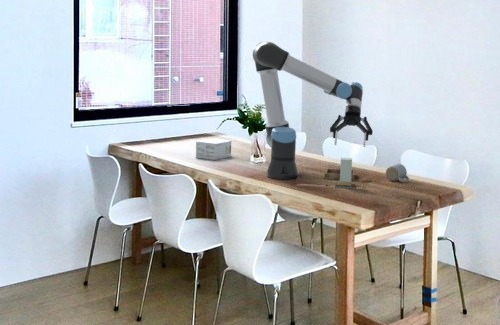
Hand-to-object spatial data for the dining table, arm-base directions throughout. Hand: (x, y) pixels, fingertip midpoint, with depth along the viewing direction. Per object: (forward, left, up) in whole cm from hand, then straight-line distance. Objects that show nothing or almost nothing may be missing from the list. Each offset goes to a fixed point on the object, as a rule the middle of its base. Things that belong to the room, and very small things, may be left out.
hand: (349, 144), depth 322 cm
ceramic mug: (+18, +15, -17) cm, 30 cm away
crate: (-4, -2, -17) cm, 18 cm away
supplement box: (-89, +3, -17) cm, 91 cm away
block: (+7, -14, -16) cm, 23 cm away
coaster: (+7, -15, -17) cm, 24 cm away
